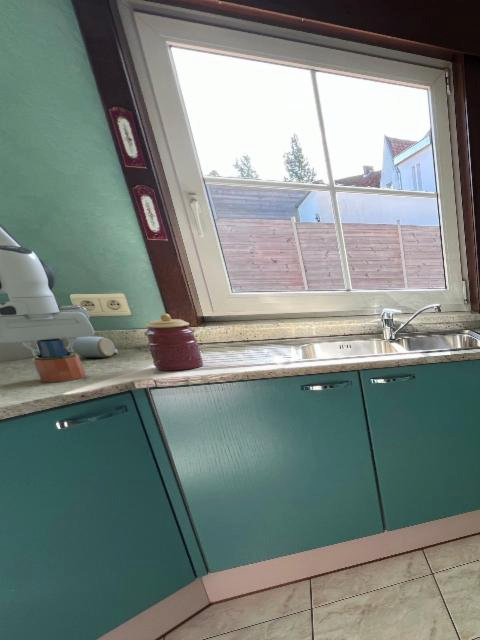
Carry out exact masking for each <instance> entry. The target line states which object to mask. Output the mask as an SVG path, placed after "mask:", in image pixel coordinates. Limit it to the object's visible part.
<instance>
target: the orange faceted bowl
mask: <svg viewBox="0 0 480 640" xmlns="http://www.w3.org/2000/svg"><path fill="white" fill-rule="evenodd" d="M31 360H32V362H33V363H32V364H33V365H34V368H35V370H36V372H37V375H38V378H39V381H41V382H42V383H61V382H62V383H63V382H71V381H77V380H81V379H84V378H85V377H87V374H86V372H85V369H84V366H83V363H82V361H81V359H80V355H78V353H70V354H68V356H63V357H53V358H42V357H41V356H39V357H33V358H31Z"/></svg>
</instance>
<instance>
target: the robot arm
mask: <svg viewBox="0 0 480 640" xmlns="http://www.w3.org/2000/svg"><path fill="white" fill-rule="evenodd" d="M56 281H57V277H56V274H55V272H54V270H53V269H52V268H51V267H50V266H49V265H48V264H47V263H46V262H44V261H43V260H42V259H41V258H39V257H38V256H37V255H36V253H35V252H34V251H33V250H32V249H29V248H27V247H26V246H25V245H24V244H23V243H22V242H21V241H20V240H19V239H18V238H17V237H15V236H14V234H13V233H12V232H10V231H9V230H8V229H7V228H6V227H5V226H4V225H3V224H2V223H1V222H0V295H5V294H7V298H8V299H9V301H6V302H2V303H0V344H13V343H22V345H23V346H24V347H25V348H27V349H28V350H30V351H31V353H32V355H33V358H36V357H39V356H42V355H41V354H40V353H41V352H40V350H39V349H34V348H33V347H31V346H32V342H35V341H38V340H50V339H62V340H63V339H66V341H67V342H69V343H68V345H67V346H65V348H66V351H67V353H68V354H70V353H72V354H75V350H74V349H73V348H74V343H75V339H76V338H77V337H88V336H94V335H95V329H94V328H93V326H92V323H91V322H90V320H89V319H90V313H89V310H88V309H87V308H86V307H84V306H80V305H78V304H73V305H58V303H57V300H56V297H55V295H54V293H53V292H52V289H53V288H54V287H55V286H56Z"/></svg>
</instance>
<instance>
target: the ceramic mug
mask: <svg viewBox="0 0 480 640" xmlns="http://www.w3.org/2000/svg"><path fill="white" fill-rule="evenodd" d="M74 339H75V343H74V346H73V348H74V352H76V354H77V355H78V356H79V357H82V358H85V359H86V358H89V359H92V358H93V359H94V358H100V359H104V358H110V357H112V356H113V355H118V353H119V350H118V349H117V348H116V346H115V344H114V342H113V341H112V340H111V339H109V338H107V337H103V336H94V335H93V336H88V337H75V338H74Z"/></svg>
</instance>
